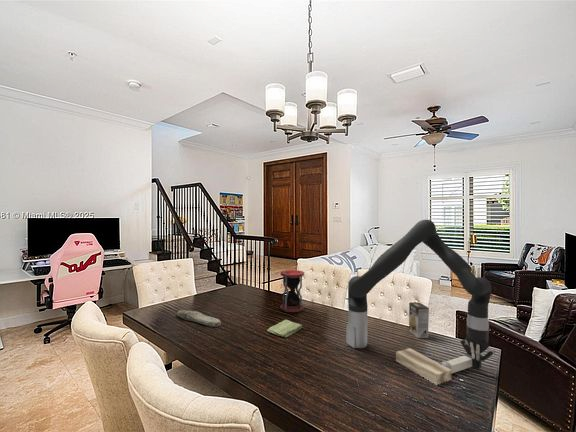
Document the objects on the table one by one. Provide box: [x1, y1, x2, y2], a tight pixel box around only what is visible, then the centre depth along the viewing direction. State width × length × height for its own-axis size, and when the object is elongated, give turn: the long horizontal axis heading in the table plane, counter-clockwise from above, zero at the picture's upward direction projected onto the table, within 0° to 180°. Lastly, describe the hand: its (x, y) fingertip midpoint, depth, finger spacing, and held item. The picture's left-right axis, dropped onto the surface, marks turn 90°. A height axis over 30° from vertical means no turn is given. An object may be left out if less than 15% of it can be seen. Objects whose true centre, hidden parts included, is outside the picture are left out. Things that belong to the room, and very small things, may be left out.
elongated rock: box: [176, 309, 222, 328], centre depth 172 cm, size 35×5×10 cm
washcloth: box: [266, 319, 303, 339], centre depth 158 cm, size 13×18×3 cm
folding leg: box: [441, 353, 474, 375], centre depth 119 cm, size 18×4×4 cm, turn 115°
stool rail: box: [395, 348, 452, 386], centre depth 118 cm, size 8×20×4 cm, turn 25°
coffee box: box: [408, 301, 430, 339], centre depth 154 cm, size 9×6×16 cm
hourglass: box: [279, 269, 305, 313], centre depth 195 cm, size 16×16×25 cm
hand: (476, 367), depth 118 cm, fingers closed
